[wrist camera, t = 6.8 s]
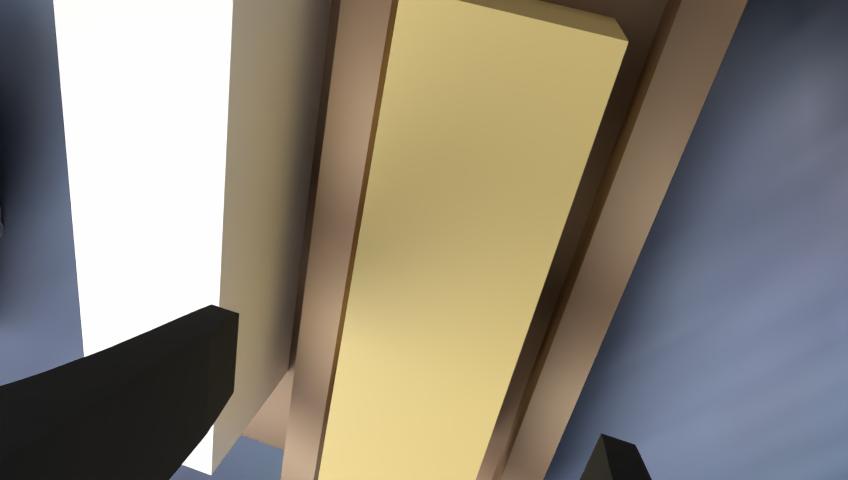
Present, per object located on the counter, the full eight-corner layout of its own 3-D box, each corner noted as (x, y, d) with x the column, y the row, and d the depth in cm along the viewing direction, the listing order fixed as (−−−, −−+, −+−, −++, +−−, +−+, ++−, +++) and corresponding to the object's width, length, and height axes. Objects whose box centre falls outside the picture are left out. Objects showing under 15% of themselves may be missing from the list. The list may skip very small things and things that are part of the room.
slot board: (512, 498, 23) (500, 579, 20) (163, 376, 25) (105, 432, 22) (768, -144, 13) (823, -177, 10) (158, -263, 15) (50, -321, 12)
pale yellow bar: (476, 434, 21) (447, 561, 16) (369, 397, 21) (312, 511, 17) (615, 18, 14) (628, 41, 10) (456, -20, 15) (400, -14, 10)
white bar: (287, 371, 21) (211, 475, 17) (189, 337, 22) (90, 430, 18) (337, -46, 15) (235, -50, 11) (197, -79, 16) (44, -96, 11)
